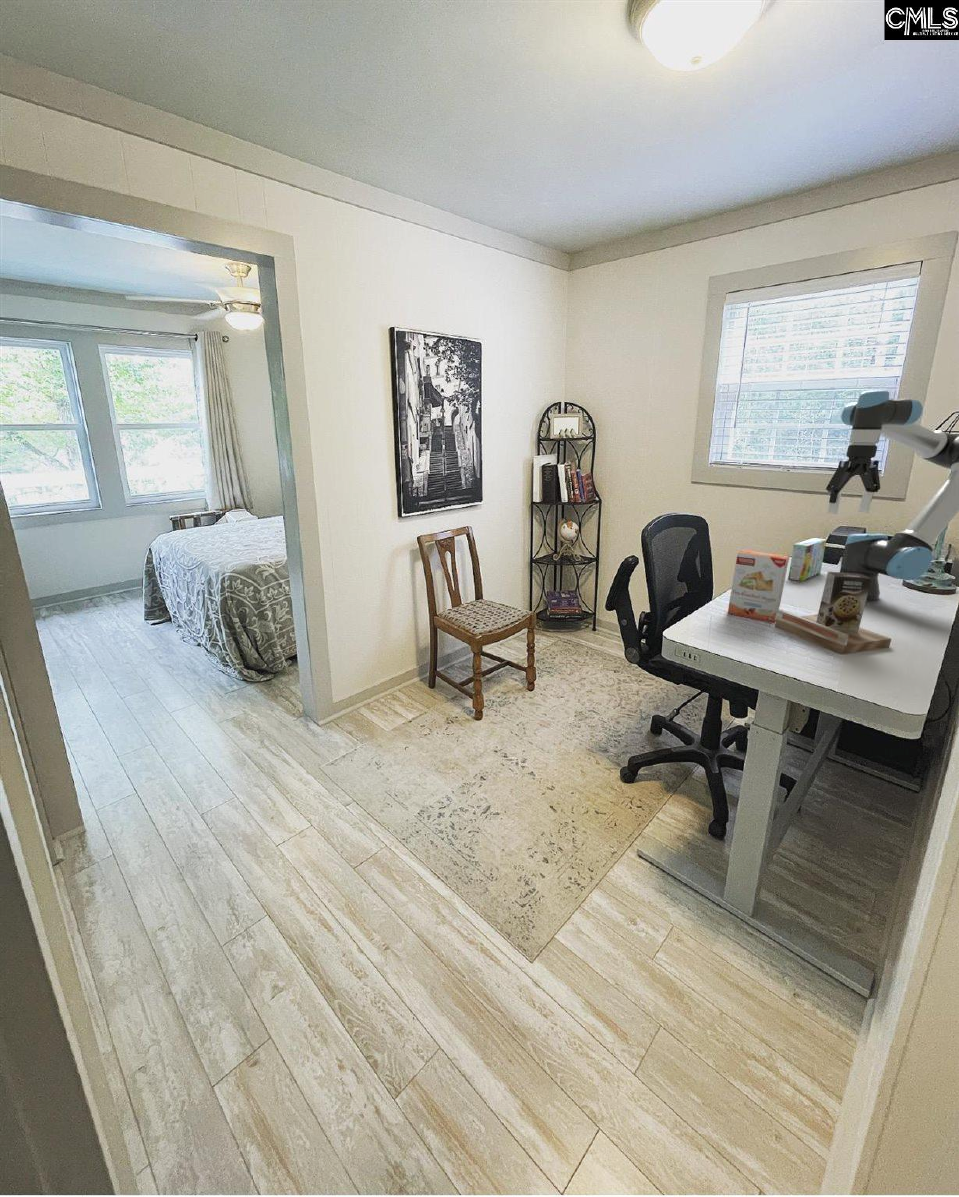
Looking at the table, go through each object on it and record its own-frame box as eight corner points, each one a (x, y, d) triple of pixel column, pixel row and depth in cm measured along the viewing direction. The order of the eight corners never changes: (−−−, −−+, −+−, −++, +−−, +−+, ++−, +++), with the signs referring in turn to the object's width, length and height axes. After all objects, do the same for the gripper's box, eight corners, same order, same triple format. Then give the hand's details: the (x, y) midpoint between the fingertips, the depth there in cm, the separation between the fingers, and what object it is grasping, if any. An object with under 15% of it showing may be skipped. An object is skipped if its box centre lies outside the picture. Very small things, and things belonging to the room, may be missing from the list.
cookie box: (824, 630, 152) (836, 576, 147) (815, 622, 158) (826, 570, 153) (859, 632, 150) (872, 578, 146) (849, 625, 156) (861, 572, 152)
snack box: (806, 571, 230) (813, 537, 226) (820, 574, 226) (828, 539, 221) (786, 579, 217) (793, 543, 213) (801, 582, 213) (808, 545, 209)
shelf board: (819, 621, 167) (822, 604, 165) (889, 647, 147) (894, 628, 145) (774, 626, 162) (777, 610, 160) (840, 654, 142) (845, 635, 140)
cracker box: (726, 614, 173) (736, 551, 167) (731, 609, 177) (741, 548, 171) (774, 623, 165) (786, 558, 158) (777, 618, 169) (790, 555, 163)
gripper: (880, 444, 170) (865, 510, 177) (821, 443, 163) (808, 512, 169) (904, 444, 163) (887, 513, 170) (844, 444, 156) (829, 515, 162)
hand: (848, 512), depth 170 cm, fingers open, 13 cm apart
